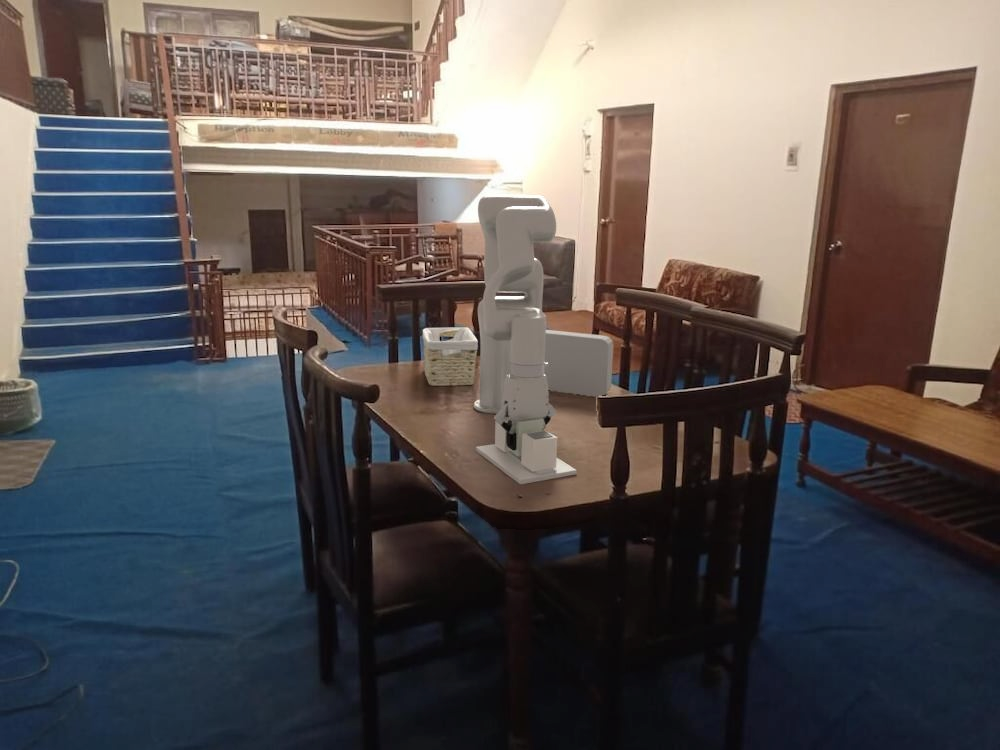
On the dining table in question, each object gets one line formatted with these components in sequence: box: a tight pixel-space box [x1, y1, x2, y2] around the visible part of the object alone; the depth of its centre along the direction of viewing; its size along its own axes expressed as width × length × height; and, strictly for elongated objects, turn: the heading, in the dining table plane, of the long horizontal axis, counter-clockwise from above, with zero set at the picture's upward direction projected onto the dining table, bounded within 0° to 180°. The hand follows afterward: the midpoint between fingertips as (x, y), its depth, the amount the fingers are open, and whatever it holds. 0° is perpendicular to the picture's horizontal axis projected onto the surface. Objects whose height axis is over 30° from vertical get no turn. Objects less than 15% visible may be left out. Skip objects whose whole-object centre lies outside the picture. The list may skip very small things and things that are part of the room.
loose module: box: [508, 418, 543, 457], centre depth 166 cm, size 5×6×8 cm
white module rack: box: [475, 417, 577, 485], centre depth 166 cm, size 22×14×9 cm, turn 27°
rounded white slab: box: [544, 329, 615, 398], centre depth 226 cm, size 29×8×18 cm, turn 67°
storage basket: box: [422, 326, 479, 387], centre depth 237 cm, size 24×16×15 cm
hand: (524, 445), depth 167 cm, fingers closed on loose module, 6 cm apart
